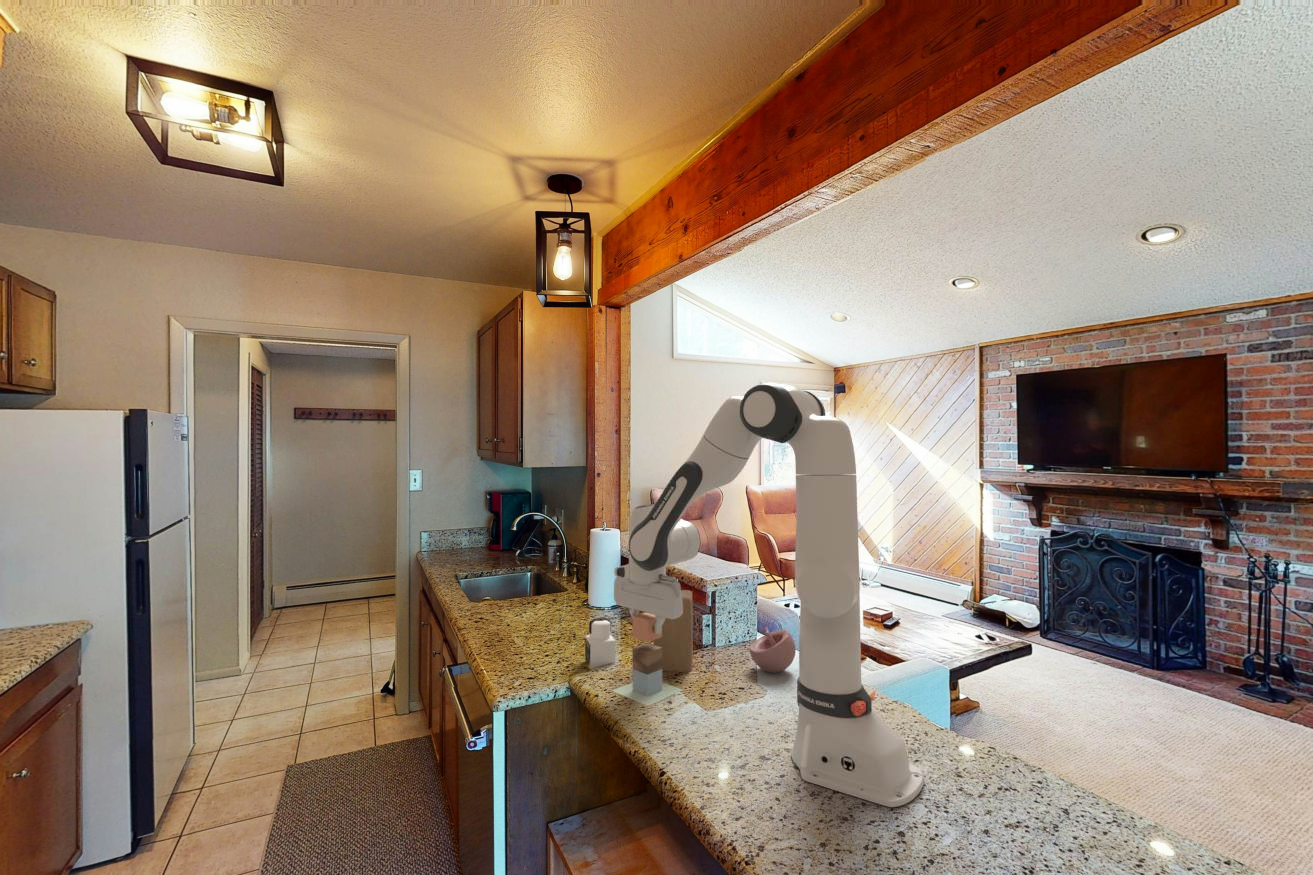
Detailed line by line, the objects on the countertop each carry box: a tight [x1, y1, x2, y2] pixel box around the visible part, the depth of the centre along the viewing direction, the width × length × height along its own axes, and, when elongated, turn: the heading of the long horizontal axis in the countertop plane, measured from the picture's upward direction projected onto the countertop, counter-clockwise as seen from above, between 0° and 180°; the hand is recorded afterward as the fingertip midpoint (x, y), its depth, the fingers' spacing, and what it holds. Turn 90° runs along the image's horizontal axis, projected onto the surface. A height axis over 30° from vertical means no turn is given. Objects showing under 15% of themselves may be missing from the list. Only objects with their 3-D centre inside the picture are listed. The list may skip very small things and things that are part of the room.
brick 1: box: [631, 612, 662, 643], centre depth 133 cm, size 5×5×5 cm
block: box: [652, 589, 694, 673], centre depth 149 cm, size 10×10×20 cm
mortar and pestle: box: [748, 626, 796, 673], centre depth 148 cm, size 12×12×12 cm
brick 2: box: [632, 642, 662, 675], centre depth 132 cm, size 5×5×5 cm
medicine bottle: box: [584, 617, 616, 670], centre depth 153 cm, size 7×7×12 cm
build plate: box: [611, 681, 683, 707], centre depth 132 cm, size 12×12×1 cm
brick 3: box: [632, 668, 663, 697], centre depth 132 cm, size 5×5×5 cm
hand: (647, 630), depth 133 cm, fingers closed on brick 1, 5 cm apart
